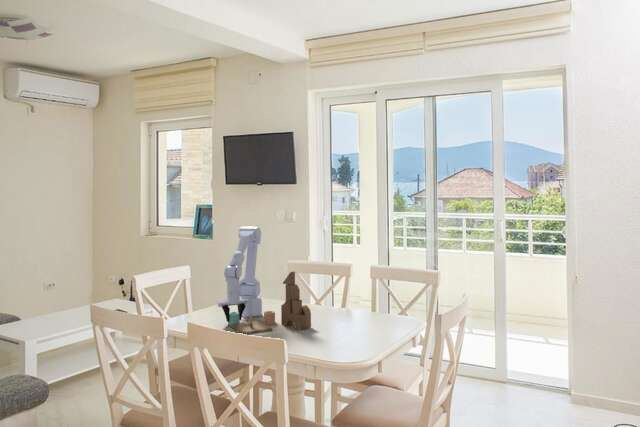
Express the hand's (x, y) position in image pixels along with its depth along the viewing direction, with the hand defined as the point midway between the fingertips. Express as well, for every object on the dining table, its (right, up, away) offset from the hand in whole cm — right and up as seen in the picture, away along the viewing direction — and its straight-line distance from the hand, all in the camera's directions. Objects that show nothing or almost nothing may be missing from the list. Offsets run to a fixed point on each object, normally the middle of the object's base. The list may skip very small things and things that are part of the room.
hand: (233, 320), depth 230 cm
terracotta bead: (+17, -1, +1) cm, 17 cm away
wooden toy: (+29, -2, -5) cm, 29 cm away
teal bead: (0, -1, 0) cm, 1 cm away
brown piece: (+9, -2, -9) cm, 13 cm away
